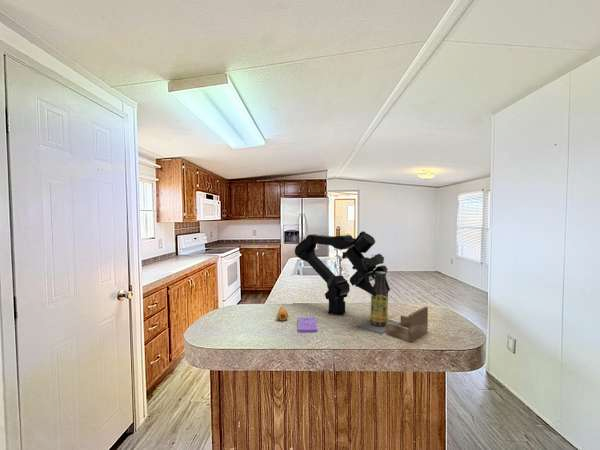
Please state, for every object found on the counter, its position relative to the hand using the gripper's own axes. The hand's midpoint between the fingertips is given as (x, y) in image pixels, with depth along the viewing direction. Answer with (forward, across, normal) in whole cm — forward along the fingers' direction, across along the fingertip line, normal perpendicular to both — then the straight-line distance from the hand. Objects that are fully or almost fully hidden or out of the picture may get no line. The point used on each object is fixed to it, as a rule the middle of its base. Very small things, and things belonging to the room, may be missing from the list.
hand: (382, 293), depth 113 cm
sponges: (-5, -20, +24) cm, 31 cm away
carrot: (-18, -17, +36) cm, 43 cm away
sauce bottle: (+8, 0, +10) cm, 12 cm away
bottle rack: (+15, 0, +3) cm, 15 cm away
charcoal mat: (+8, 0, +10) cm, 13 cm away
